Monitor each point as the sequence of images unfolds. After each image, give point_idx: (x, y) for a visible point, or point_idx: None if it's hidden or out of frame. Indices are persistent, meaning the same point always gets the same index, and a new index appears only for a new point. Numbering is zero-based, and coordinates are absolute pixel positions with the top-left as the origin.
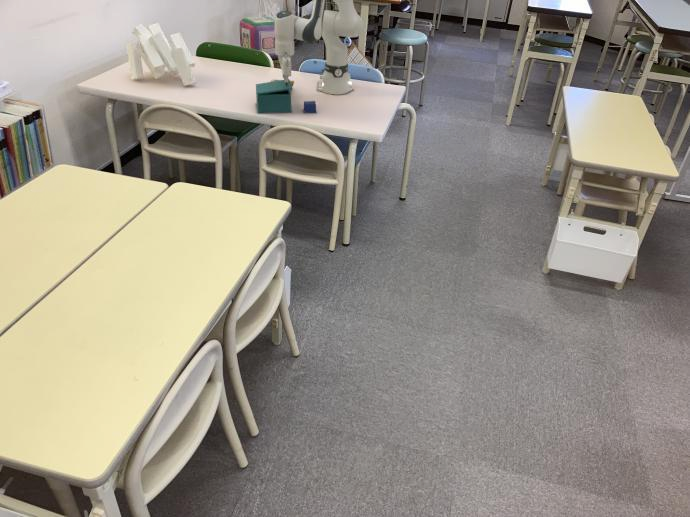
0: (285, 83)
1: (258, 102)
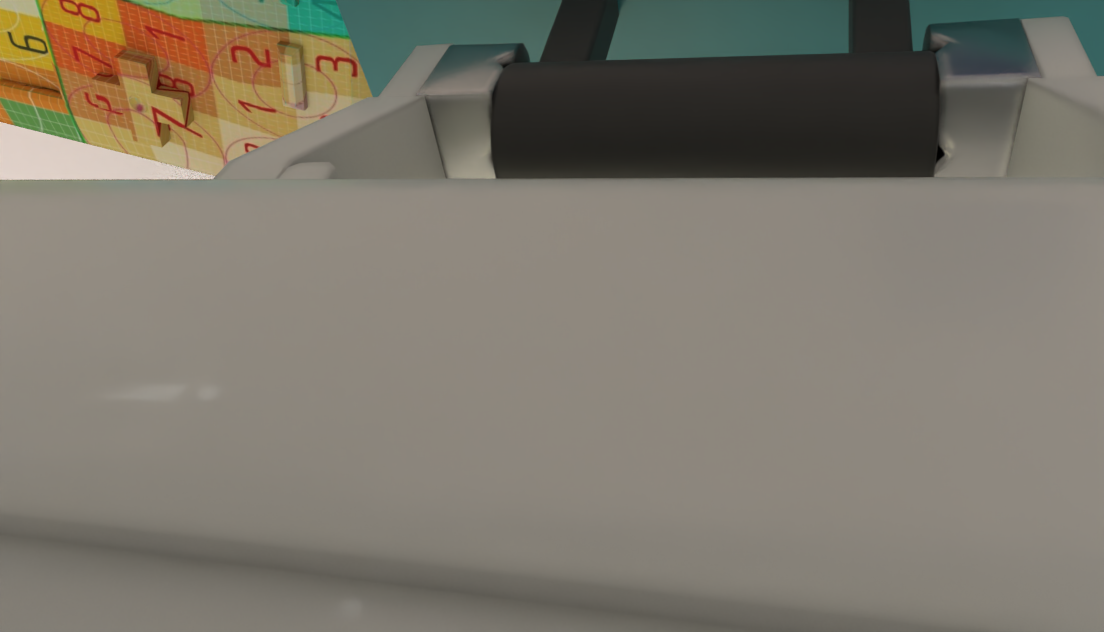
0: (675, 15)
1: None
